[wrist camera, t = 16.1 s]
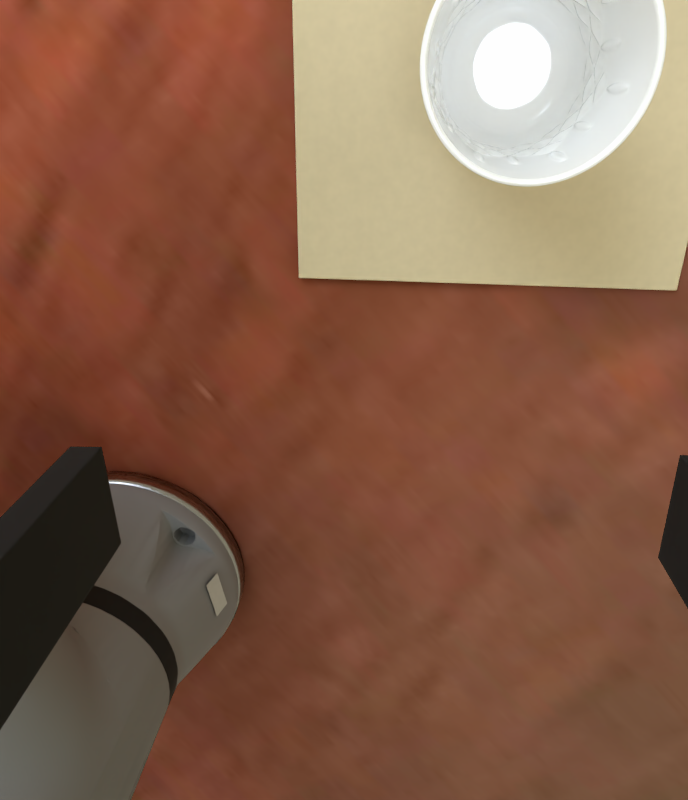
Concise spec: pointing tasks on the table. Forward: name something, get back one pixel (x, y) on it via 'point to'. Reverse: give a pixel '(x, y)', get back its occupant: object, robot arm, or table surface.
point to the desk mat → (468, 172)
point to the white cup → (539, 82)
